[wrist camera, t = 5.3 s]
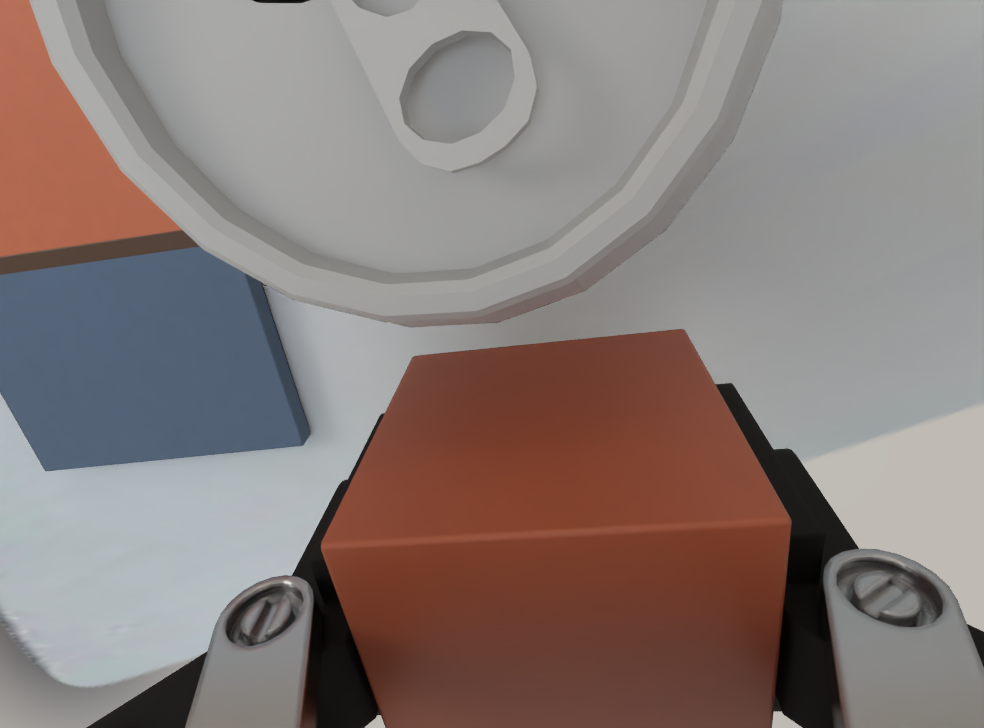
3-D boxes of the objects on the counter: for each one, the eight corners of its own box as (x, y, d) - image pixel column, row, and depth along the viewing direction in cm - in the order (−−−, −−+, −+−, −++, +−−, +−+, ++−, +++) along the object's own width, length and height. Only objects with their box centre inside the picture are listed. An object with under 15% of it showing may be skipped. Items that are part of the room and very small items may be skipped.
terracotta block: (684, 326, 10) (796, 520, 6) (686, 542, 12) (766, 806, 8) (411, 354, 11) (316, 546, 6) (457, 553, 13) (410, 802, 8)
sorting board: (146, -70, 14) (126, -79, 14) (311, 433, 21) (303, 446, 20) (-193, 2, 16) (-229, -3, 15) (60, 459, 22) (44, 472, 21)
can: (535, -204, 13) (590, -1755, 2) (672, 105, 15) (1019, 130, 5) (285, 1, 15) (-355, -251, 4) (443, 246, 17) (309, 494, 7)
